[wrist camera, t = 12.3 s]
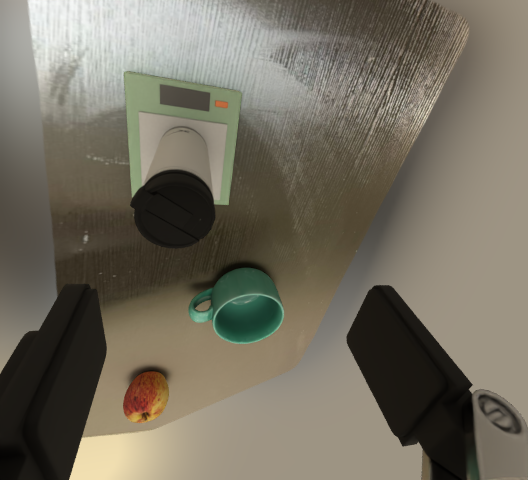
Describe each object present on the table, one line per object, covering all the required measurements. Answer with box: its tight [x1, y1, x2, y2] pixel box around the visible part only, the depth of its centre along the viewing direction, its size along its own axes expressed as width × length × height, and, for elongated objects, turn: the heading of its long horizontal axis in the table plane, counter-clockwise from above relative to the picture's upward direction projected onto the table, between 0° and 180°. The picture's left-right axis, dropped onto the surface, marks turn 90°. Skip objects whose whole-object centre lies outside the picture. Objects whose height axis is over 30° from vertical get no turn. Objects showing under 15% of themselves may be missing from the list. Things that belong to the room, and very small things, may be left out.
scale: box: [124, 71, 242, 205], centre depth 40 cm, size 16×14×3 cm
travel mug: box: [130, 126, 215, 248], centre depth 30 cm, size 6×7×20 cm
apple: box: [123, 371, 169, 423], centre depth 63 cm, size 9×9×10 cm
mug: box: [189, 268, 284, 344], centre depth 53 cm, size 17×13×10 cm
